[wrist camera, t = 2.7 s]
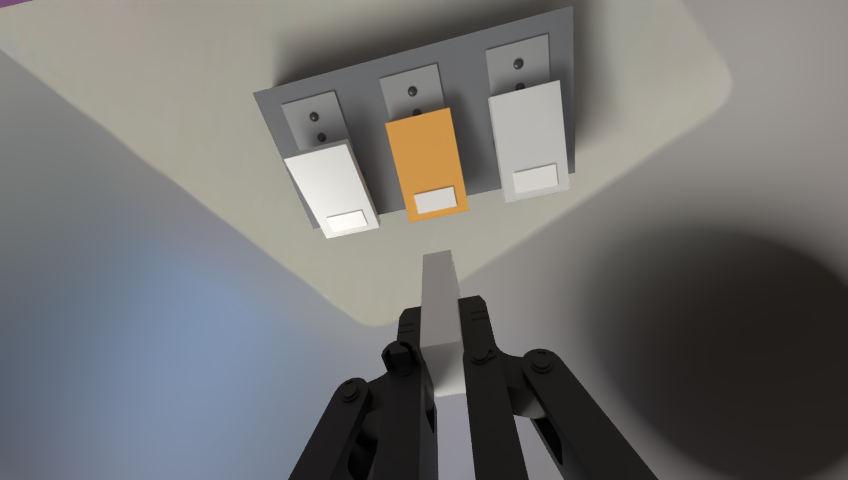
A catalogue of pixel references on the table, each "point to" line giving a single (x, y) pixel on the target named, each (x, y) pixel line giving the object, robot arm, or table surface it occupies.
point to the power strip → (426, 100)
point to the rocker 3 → (530, 141)
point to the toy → (11, 2)
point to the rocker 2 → (428, 165)
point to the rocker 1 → (334, 188)
